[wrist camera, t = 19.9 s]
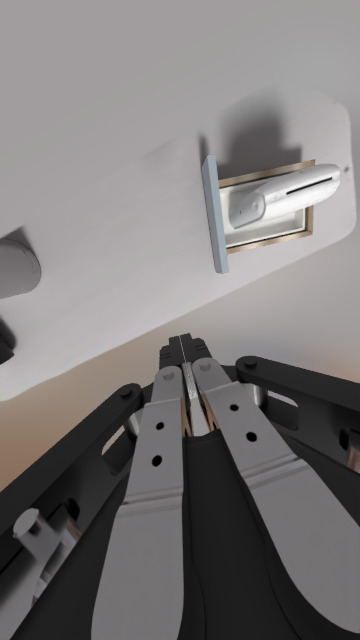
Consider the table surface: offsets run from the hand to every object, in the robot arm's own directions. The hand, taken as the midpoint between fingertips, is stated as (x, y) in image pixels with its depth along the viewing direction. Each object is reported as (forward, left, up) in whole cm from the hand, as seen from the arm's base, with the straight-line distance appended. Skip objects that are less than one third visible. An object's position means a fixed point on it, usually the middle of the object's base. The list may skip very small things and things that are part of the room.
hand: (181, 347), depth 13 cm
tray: (+18, +10, -25) cm, 33 cm away
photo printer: (+18, +10, -24) cm, 32 cm away
